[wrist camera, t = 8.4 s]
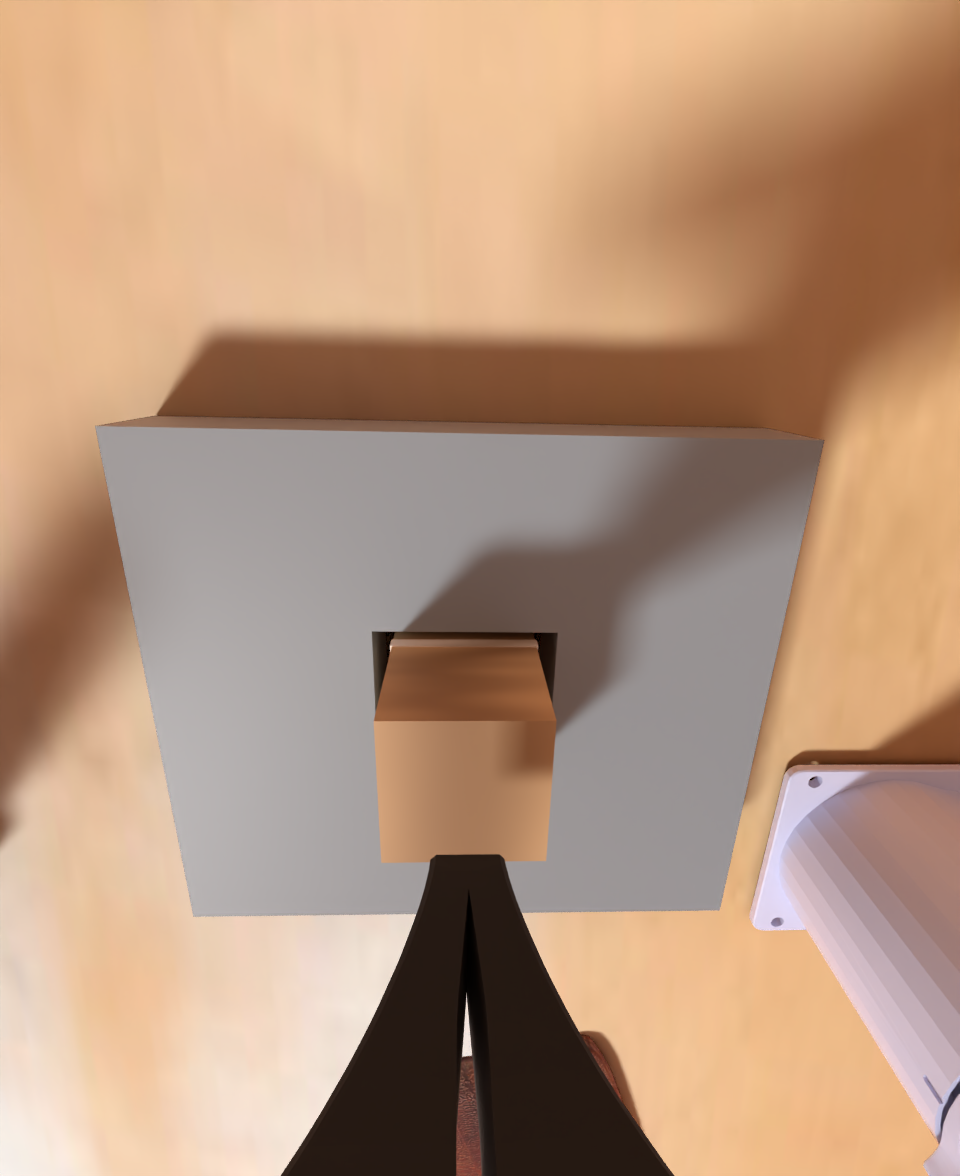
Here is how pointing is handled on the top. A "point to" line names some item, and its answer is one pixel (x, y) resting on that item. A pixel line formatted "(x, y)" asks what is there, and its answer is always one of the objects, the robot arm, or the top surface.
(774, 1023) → the top surface
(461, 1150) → the wooden tablet
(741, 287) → the top surface
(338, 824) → the slate board
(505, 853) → the oak peg
